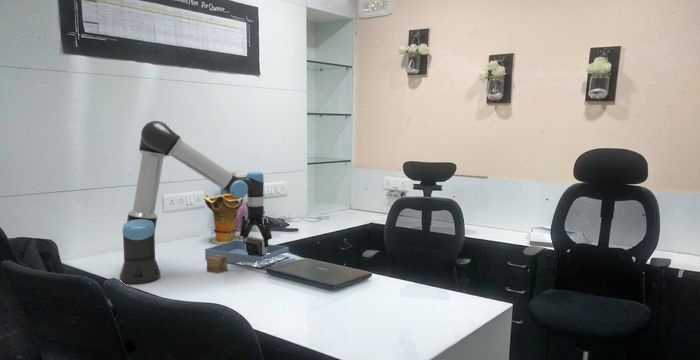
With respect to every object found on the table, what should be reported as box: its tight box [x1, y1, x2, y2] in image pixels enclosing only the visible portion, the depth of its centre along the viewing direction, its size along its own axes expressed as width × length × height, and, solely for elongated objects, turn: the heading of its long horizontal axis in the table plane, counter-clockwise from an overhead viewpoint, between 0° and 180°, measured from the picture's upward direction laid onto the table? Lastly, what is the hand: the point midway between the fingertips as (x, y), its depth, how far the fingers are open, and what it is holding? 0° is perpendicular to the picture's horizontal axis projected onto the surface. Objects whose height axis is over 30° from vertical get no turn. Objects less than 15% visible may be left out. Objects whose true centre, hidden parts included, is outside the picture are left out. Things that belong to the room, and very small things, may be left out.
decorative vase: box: [202, 193, 244, 245], centre depth 265 cm, size 21×23×28 cm
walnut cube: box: [206, 255, 228, 274], centre depth 210 cm, size 6×6×6 cm
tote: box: [204, 240, 290, 265], centre depth 230 cm, size 22×32×5 cm
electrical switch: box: [245, 236, 266, 257], centre depth 227 cm, size 9×5×9 cm, turn 57°
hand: (255, 252), depth 228 cm, fingers closed on electrical switch, 9 cm apart
